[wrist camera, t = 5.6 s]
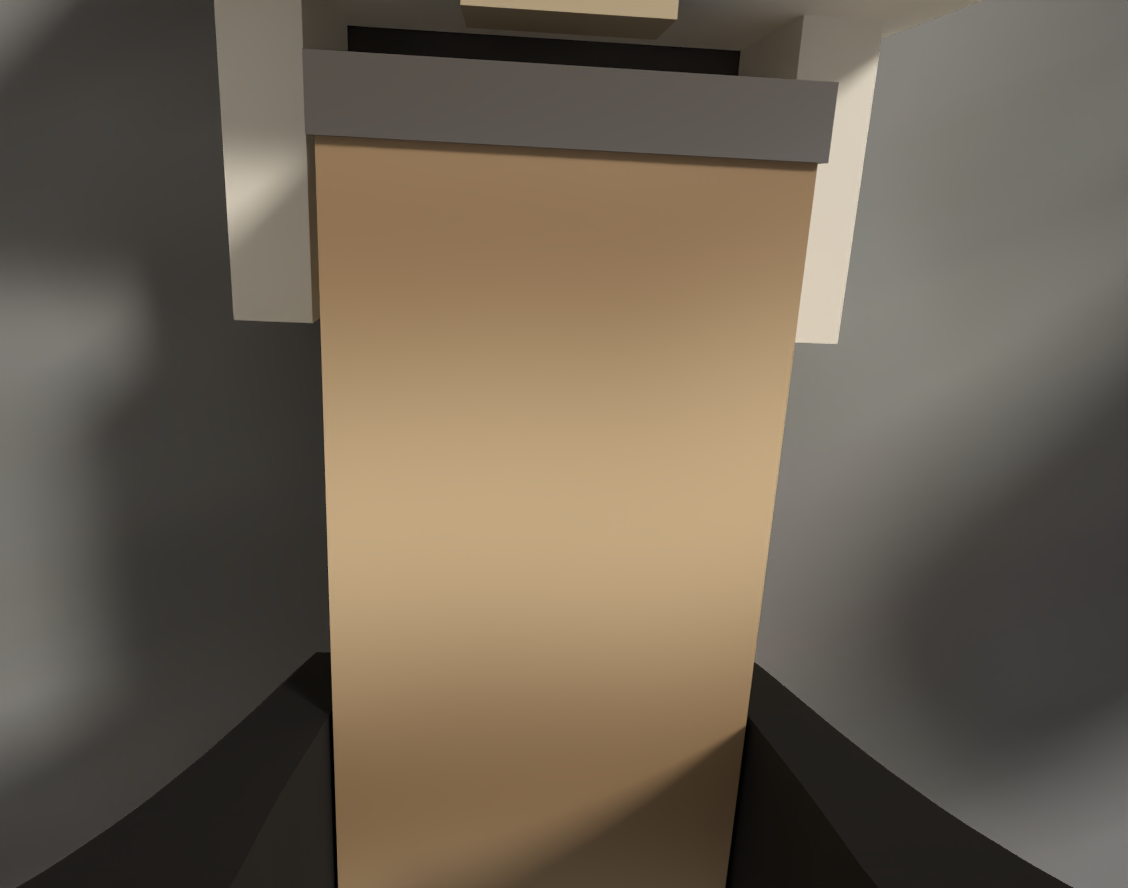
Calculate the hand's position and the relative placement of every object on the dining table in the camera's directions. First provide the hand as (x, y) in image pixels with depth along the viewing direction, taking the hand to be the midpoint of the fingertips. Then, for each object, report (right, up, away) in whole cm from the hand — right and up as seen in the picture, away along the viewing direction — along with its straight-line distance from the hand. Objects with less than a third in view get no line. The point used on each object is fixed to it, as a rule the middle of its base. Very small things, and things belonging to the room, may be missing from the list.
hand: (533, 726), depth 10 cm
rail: (0, +1, +3) cm, 3 cm away
